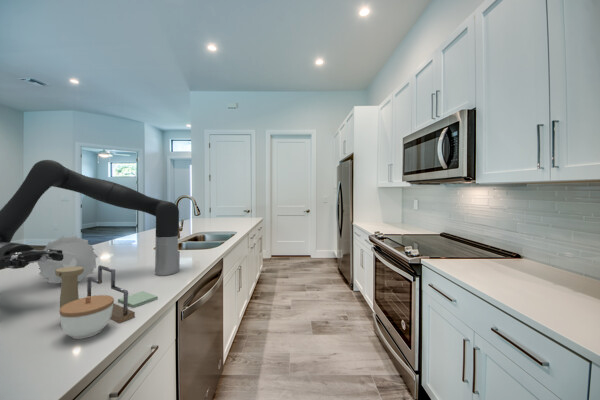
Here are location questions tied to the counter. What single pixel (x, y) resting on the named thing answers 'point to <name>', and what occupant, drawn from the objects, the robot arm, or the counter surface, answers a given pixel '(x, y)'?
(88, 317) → the lidded jar
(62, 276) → the handle
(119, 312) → the bent wire
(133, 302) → the green pad
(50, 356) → the counter surface
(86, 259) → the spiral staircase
